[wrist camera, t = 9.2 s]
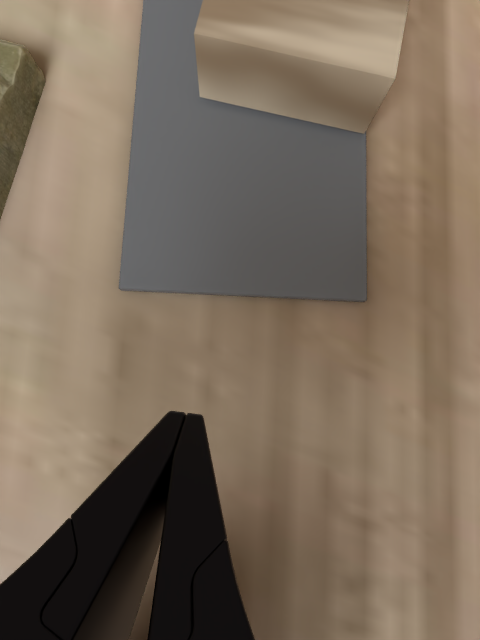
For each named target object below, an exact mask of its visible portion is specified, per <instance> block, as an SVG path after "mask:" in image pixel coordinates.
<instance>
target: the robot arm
mask: <svg viewBox="0 0 480 640" xmlns="http://www.w3.org/2000/svg"><path fill="white" fill-rule="evenodd" d="M160 541H161V545H160V552H159V560H158V567H157V574H156V582H155V589H154V596H153V604H152V611H151V618H150V626H149V633H148V640H255V639H254V636H253V633H252V630H251V627H250V624H249V621H248V618H247V615H246V612H245V608H244V605H243V602H242V598H241V595H240V592H239V588H238V585H237V581H236V577H235V573H234V568H233V564H232V560H231V555H230V550H229V544H228V541H227V535H226V530H225V525H224V520H223V515H222V510H221V505H220V499H219V494H218V489H217V484H216V479H215V474H214V469H213V464H212V459H211V454H210V449H209V443H208V438H207V433H206V428H205V423H204V418H203V416H202V415H200V414H192V413H188V414H187V415H186V414H185V413H184V412H177V411H170V412H168V413H167V414H166V415H165V416H164V417H163V418H162V419H161V420H160V421H159V423H158V424H157V425H156V426H155V427H154V428H153V429H152V430H151V431H150V432H149V433H148V434H147V435H146V436H145V437H144V439H143V440H142V441H141V442H140V443H139V444H138V445H137V446H136V447H135V448H134V449H133V450H132V451H131V452H130V453H129V454H128V456H127V457H126V458H125V459H124V460H123V461H122V462H121V463H120V464H119V465H118V466H117V467H116V468H115V469H114V470H113V471H112V473H111V474H110V475H109V476H108V477H107V478H106V479H105V480H104V481H103V482H102V483H101V484H100V485H99V486H98V487H97V489H96V490H95V491H94V492H93V493H92V494H91V495H90V496H89V497H88V498H87V499H86V500H85V501H84V502H83V503H82V504H81V506H80V507H79V508H78V509H77V510H76V511H75V512H74V513H73V514H72V515H71V518H68V519H67V520H66V521H65V522H64V523H63V525H62V526H61V527H60V528H59V529H58V530H57V531H56V532H55V533H54V534H53V535H52V536H51V537H50V538H49V539H48V540H47V541H46V542H45V543H44V544H43V545H42V546H41V547H40V548H39V549H38V550H37V551H36V552H35V553H34V554H33V555H32V556H31V557H30V558H29V559H28V560H27V561H26V562H24V563H23V564H22V565H21V566H20V567H19V568H18V569H17V570H16V571H15V572H14V573H12V574H11V575H10V576H9V577H8V578H7V579H6V580H5V581H3V582H2V583H1V584H0V640H128V639H129V636H130V633H131V630H132V627H133V624H134V621H135V618H136V615H137V612H138V609H139V606H140V603H141V600H142V597H143V593H144V590H145V587H146V584H147V581H148V578H149V575H150V572H151V569H152V566H153V563H154V560H155V557H156V554H157V551H158V547H159V544H160Z"/></svg>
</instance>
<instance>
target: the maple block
mask: <svg viewBox="0 0 480 640" xmlns="http://www.w3.org/2000/svg"><path fill="white" fill-rule="evenodd" d="M408 5H409V0H203V2H202V5H201V9H200V13H199V17H198V20H197V24H196V28H195V32H194V39H195V50H196V61H197V72H198V83H199V95H200V97H202V98H206V99H211V100H215V101H220V102H224V103H229V104H233V105H238V106H242V107H247V108H251V109H255V110H260V111H264V112H269V113H273V114H278V115H282V116H287V117H291V118H296V119H300V120H305V121H309V122H313V123H318V124H322V125H327V126H331V127H336V128H340V129H345V130H349V131H354V132H358V133H363V134H364V133H365V131H366V130H367V128H368V126H369V124H370V123H371V121H372V119H373V117H374V115H375V114H376V112H377V110H378V108H379V107H380V105H381V103H382V101H383V100H384V98H385V96H386V94H387V92H388V91H389V89H390V87H391V85H392V84H393V82H394V80H395V78H396V72H397V66H398V61H399V55H400V50H401V44H402V39H403V33H404V27H405V22H406V16H407V11H408Z"/></svg>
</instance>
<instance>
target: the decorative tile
mask: <svg viewBox="0 0 480 640" xmlns="http://www.w3.org/2000/svg"><path fill="white" fill-rule="evenodd" d="M44 85H45V79H44V75H43V72H42V70H41V69H40V68H39V67H38V66H37V64H36V62H35V61H34V59H33V58H32V56H31V55H30V53H29V52H28V50H27V48H26V47H25V46H24V45H20V44H17V43H14V42H10V41H7V40H3V39H0V219H1V216H2V212H3V209H4V206H5V203H6V200H7V197H8V194H9V191H10V188H11V185H12V182H13V179H14V176H15V173H16V170H17V168H18V165H19V162H20V159H21V156H22V153H23V150H24V147H25V143H26V140H27V137H28V134H29V131H30V127H31V124H32V121H33V118H34V115H35V112H36V109H37V106H38V103H39V100H40V97H41V94H42V91H43V88H44Z"/></svg>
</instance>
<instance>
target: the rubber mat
mask: <svg viewBox="0 0 480 640" xmlns="http://www.w3.org/2000/svg"><path fill="white" fill-rule="evenodd" d="M202 2H203V0H144V1H143V13H142V24H141V36H140V47H139V59H138V71H137V82H136V94H135V106H134V117H133V129H132V140H131V152H130V164H129V175H128V187H127V198H126V210H125V222H124V233H123V245H122V257H121V268H120V280H119V289H120V290H123V291H144V292H165V293H186V294H207V295H228V296H249V297H270V298H291V299H312V300H333V301H354V302H365V301H367V229H366V131H365V133H364V134H363V133H358V132H354V131H349V130H345V129H340V128H336V127H331V126H327V125H322V124H318V123H313V122H309V121H305V120H300V119H296V118H291V117H287V116H282V115H278V114H273V113H269V112H264V111H260V110H255V109H251V108H247V107H242V106H238V105H233V104H229V103H224V102H220V101H215V100H211V99H206V98H202V97H200V95H199V83H198V72H197V61H196V50H195V39H194V32H195V28H196V24H197V20H198V17H199V13H200V9H201V5H202Z"/></svg>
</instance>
